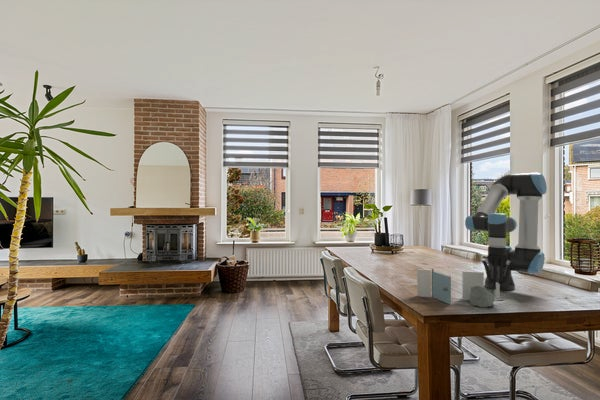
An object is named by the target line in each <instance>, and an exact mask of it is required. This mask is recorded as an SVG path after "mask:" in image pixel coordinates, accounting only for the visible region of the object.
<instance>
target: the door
mask: <svg viewBox="0 0 600 400" xmlns="http://www.w3.org/2000/svg"><path fill="white" fill-rule="evenodd" d="M432 298H434V299H436V300H439V301H441V302H444V303H446V304H447V305H451V304H452V299H451V298H452V277H451V276H450V275H448V274H444V273H441V272H438V271H435V270H434V271H433V297H432Z"/></svg>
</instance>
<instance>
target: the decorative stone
mask: <svg viewBox="0 0 600 400" xmlns="http://www.w3.org/2000/svg"><path fill="white" fill-rule="evenodd" d="M469 299H470V300H469V301H470V303H471V306H472V307H478V308H488V307H492V306H493V305H494V302H495V301H496V297H495V294H493V293H492V292H490V291H489V290H487V289H486V287H484V288H483V287H481V286H473V287H471V293H470V298H469Z"/></svg>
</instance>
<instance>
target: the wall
mask: <svg viewBox="0 0 600 400" xmlns="http://www.w3.org/2000/svg"><path fill="white" fill-rule="evenodd" d="M416 270H417V271H416V276H417V277H416V278H417V279H416V280H417V281H416V282H417V283H416V284H417V285H416V292H417V294H416V296H417V297H422V298H423V297H424V298H434V297H433V271H435V270H434V268H432V269H428V268H417V269H416ZM461 272H462V273H461V274H462V275H461V279H462V282H461V283H462V284H461V288H462V289H461V291H462V292H461V293H462V294H461V297H462V298H460V297H451V300H463V301H464V300H465V301H470V299H469V298H470V293H471V287H473V286H481V287H483V288H485V279H484V277H485V276H484V275H485V273H484V271H469V270H468V271H467V270H462V271H461Z"/></svg>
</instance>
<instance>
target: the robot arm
mask: <svg viewBox="0 0 600 400" xmlns="http://www.w3.org/2000/svg"><path fill="white" fill-rule="evenodd" d="M547 187H548V186H547V182H546V179H545V176H544V175H543V174H542V173H540V172H527V173H524V172H523V173H510V174H506V175H504V176H501V177H499V179H496V181H494V182H493V183H492V184H491V186H490V188H489V193H488V194H487V195H486V197H485V198H484V200H483V202H482V203H481V204H480V206H479V208H478V209H477V210H476V211H475V213H474V215H468V216H467V217H465V220H464V226H465V228H466V229H467V230H468V231H474V232H475V231H476V232H487V245H488V247H487V257H486V258H485V259H483V260H481V263H482V265H483V266H484V267H483V268H484V270H485V275H486V276H485V279H484V288H488V289H492V290H494V297H495V298H501V296H500V295H501V293H500V291H513V290H516V284H515V281H514V279H513V276H512V272H513V271H514V272H519V273H520V272H521V273H525V274H534V275H535V274H536V275H537V274H540V273H541V272H542V270H543V267H544V265H545V261H546V259H545V257H546V256H545V253H544V252H543V251H541V249H542V248H540V247H539V246H538V232H539V231H538V228H539V201H540V200H542V198H543V195H546V193H547ZM510 195H516V198H517V199H518V201H519V214H518V224H517V221H516V219H515V218H513V217H510V216H507V214H506V213H497V212H496V211H497V210H498V208H499V206H500V205H501V203H502V202H503V199H506V198H507V197H508V196H510ZM517 226H518V243H517V244H516V245H515V246H514V249H513V248H512V247H511V246H508V245H507V234H508V233H511V232H514V231H515V230H516V229H517Z"/></svg>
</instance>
